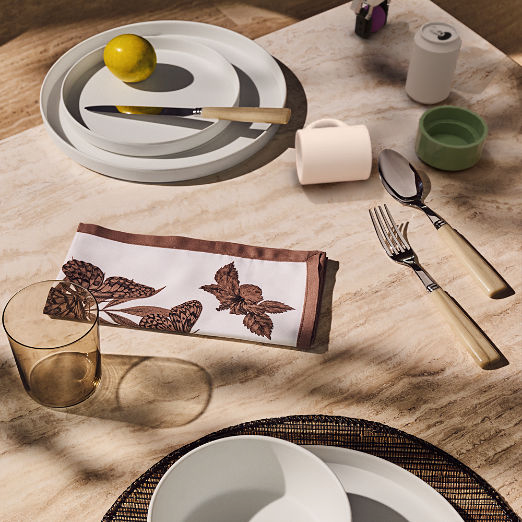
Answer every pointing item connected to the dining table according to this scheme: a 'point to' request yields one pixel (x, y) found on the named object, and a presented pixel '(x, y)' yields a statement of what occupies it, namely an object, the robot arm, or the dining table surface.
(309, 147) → the mug
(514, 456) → the dining table surface
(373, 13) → the ball
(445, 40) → the can
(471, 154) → the bowl
